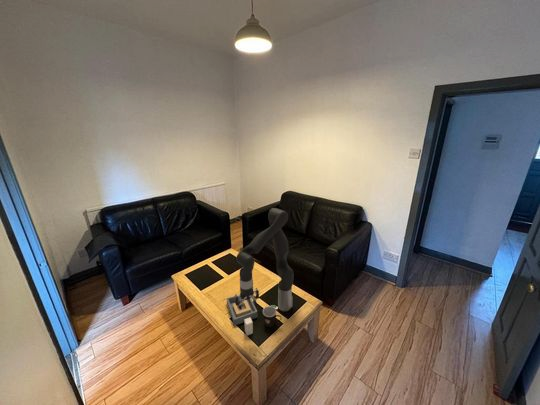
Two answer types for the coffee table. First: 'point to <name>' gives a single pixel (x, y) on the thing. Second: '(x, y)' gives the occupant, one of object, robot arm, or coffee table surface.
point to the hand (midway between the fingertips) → (247, 306)
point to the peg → (248, 326)
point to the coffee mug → (270, 316)
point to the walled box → (245, 313)
